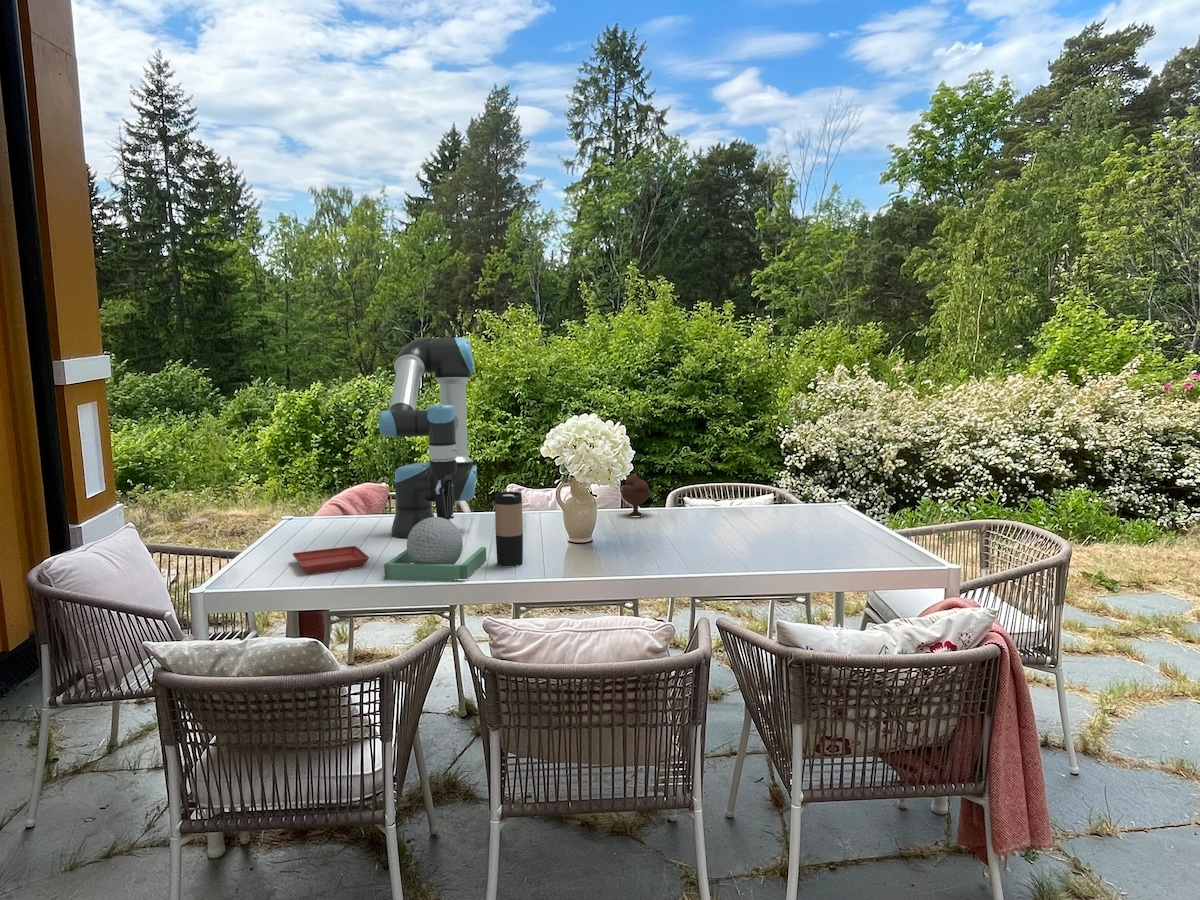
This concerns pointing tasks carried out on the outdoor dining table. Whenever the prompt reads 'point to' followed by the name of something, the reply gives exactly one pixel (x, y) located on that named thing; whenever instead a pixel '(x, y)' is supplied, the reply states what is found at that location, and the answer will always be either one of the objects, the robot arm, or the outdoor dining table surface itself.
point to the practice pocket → (432, 568)
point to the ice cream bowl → (635, 493)
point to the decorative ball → (434, 542)
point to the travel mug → (509, 528)
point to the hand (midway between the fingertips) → (446, 542)
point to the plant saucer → (331, 559)
